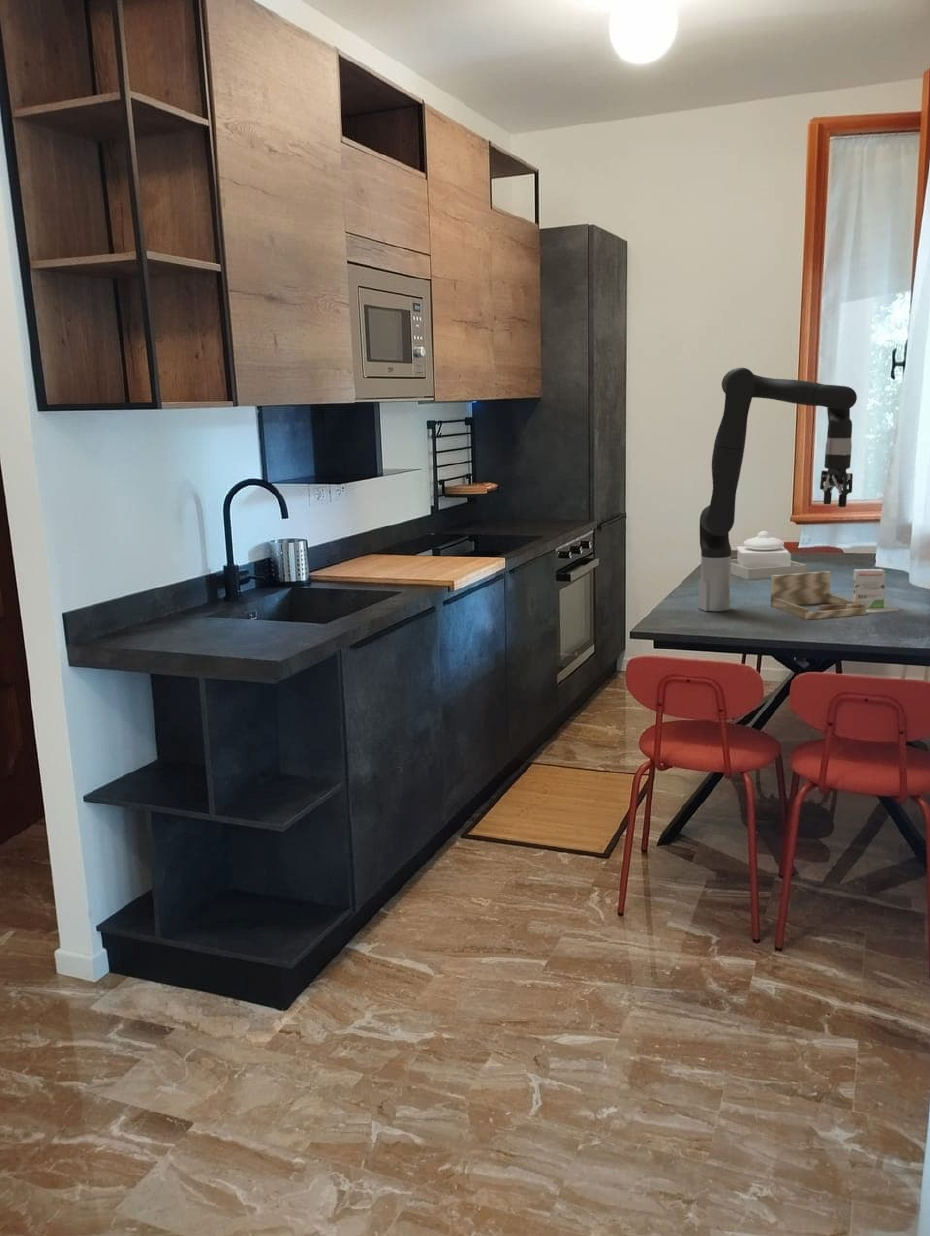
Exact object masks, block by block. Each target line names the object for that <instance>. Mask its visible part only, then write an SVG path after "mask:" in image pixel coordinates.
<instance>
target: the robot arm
mask: <svg viewBox="0 0 930 1236" xmlns="http://www.w3.org/2000/svg"><path fill="white" fill-rule="evenodd" d="M721 389H722V392H723V393H724V394H725V395H724V396H725V397H724V398H725V399H724V409H723V415H722V418H721V421H720V423H719V426H718V430H717V432H716V436H715V440H714V443H713V449H712V455H711V456H712V458H711V477H712V494H711V499H710V501H709V502H710V504H709V505H708V506H706V507H705V508H704V509H702V512H701V513H700V516H699V517H700V518H699V546H700V552H701V553H700V554H701V555H700V556H701V559H700V578H699V579H698V583H697V585H698V587H697V589H698V591H697V592H698V594H697V597H698V598H697V599H698V600H697V601H698V602H697V608H698V609H700V610H702V611H705V612H725V611H730V610H731V577H732V576H731V575H732V574H731V559H732V547H731V543H730V538H729V537H730V536H729V535H730V534H729V533H730V531H731V530H732V529H733V526H734V524H735V515H736V513H735V512H736V497H737V489H738V485H739V481H740V475H741V470H742V466H743V465H742V464H743V459H744V453H745V445H746V438H747V427H748V417H749V411H750V407H751V403H752V399H753V398H758V399H767V400H768V399H769V400H774V401H779V402H784V403H790V404H796V405H802V406H811V407H823V408H826V410H827V411H826V412H827V421H828V422H827V423H828V424H827V436H826V437H827V438H826V442H825V451H824V468H825V469H827V470H821V475H820V484H819V489H820V490H822V492H823V504H824V505H831V504H832V495H833V494H832V491H833V489H834V488H836V490H837V492H838V493H839V495H838V503H837V504H838V507H839V508H846V506H847V497H848V496H847V495H849V494H852V492H853V477H854V475H853V473H852V472H851V473H850V472H847V470H848V469H850V468H851V463H852V460H851V459H852V449H853V447H852V444H853V443H852V434H853V422H852V419H851V418H850V416H851V411H850V410H851V408H853V406H855V404H856V402H857V400H858V396H857V393H856V391H855V390H854V389H853V388H852V387H849V386H847V385H846V386H845V385H836V384H824V383H820V382H813V381H809V380H799V379H788V378H787V379H786V378H785V379H783V378H773V377H766V376H761V375H757V374H754V373H753V372H752V371H751V370H750V369H748V368H746V367H736V368H732V369H731V370H729V371H727V373H726V374H725V375H724V376H723V377H722V380H721Z"/></svg>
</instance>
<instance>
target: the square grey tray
mask: <svg viewBox="0 0 930 1236" xmlns="http://www.w3.org/2000/svg"><path fill="white" fill-rule="evenodd" d="M737 561H738V559H737V558H733V559H732V558H731V575H732V576H736V577H738V578H742V579H745V580H747V581H750V580H765V579H767V580H768V579H771V576H772V575H785V574H799V573H808V572H807V569H808V565H807V564H805V563H800V562H799V561H798V562H797V561H794V560H791V566H777V567H763V568H747V567H744V566H741V565H738V564H737Z"/></svg>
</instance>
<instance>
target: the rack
mask: <svg viewBox="0 0 930 1236" xmlns="http://www.w3.org/2000/svg"><path fill="white" fill-rule="evenodd" d="M770 579H771V582H770V583H771V584H770V586H771V587H770V607H772V608H775V609H777V610H780V611H782V612H785V613H788V614H791V615H793V616H796V617H798V618H800V619H803V620H816V619H829V618H840V617H842V618H843V617H854V616H863V615H865V616H866V615H867V614H866V608H865V604H862V603H859V602H856V601H853V599H849V598H846V597H843V596H840V595H837V594H833V593H830V592H831V590H830V589H831V571H829V570H828V571H815V572H807V573H799V574H785V575H772V576H771V578H770ZM822 603H824V604H825V603H827V604H828V605H833V604H844V605H845V609H840V610H828V611H821V610H818V611H810V609H809V608H806V607H804V606H802V605H812V604H822ZM854 603H856V604H858V605H859V608H852V609H846V604H854Z"/></svg>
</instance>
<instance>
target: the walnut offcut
mask: <svg viewBox="0 0 930 1236" xmlns="http://www.w3.org/2000/svg"><path fill="white" fill-rule="evenodd" d="M818 608H819V610H818V611H826V610H840V609H845V605H844V604H833V605H832V604H819V605H818Z"/></svg>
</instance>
